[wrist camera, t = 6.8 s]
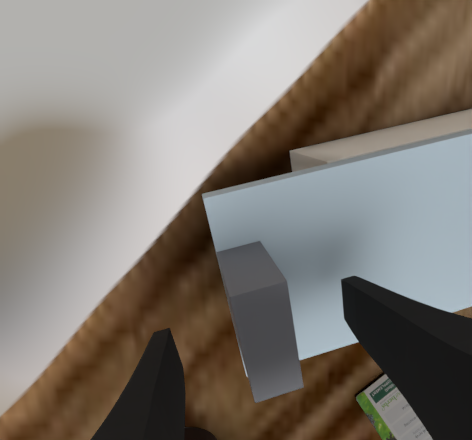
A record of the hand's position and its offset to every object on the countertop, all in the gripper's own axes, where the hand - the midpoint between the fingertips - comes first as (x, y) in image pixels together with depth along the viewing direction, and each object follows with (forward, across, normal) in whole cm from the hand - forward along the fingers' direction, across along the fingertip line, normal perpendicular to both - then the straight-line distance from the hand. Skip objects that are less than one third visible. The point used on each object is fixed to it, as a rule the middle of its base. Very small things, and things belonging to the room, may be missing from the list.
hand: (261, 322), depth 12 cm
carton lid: (+3, -6, 0) cm, 7 cm away
